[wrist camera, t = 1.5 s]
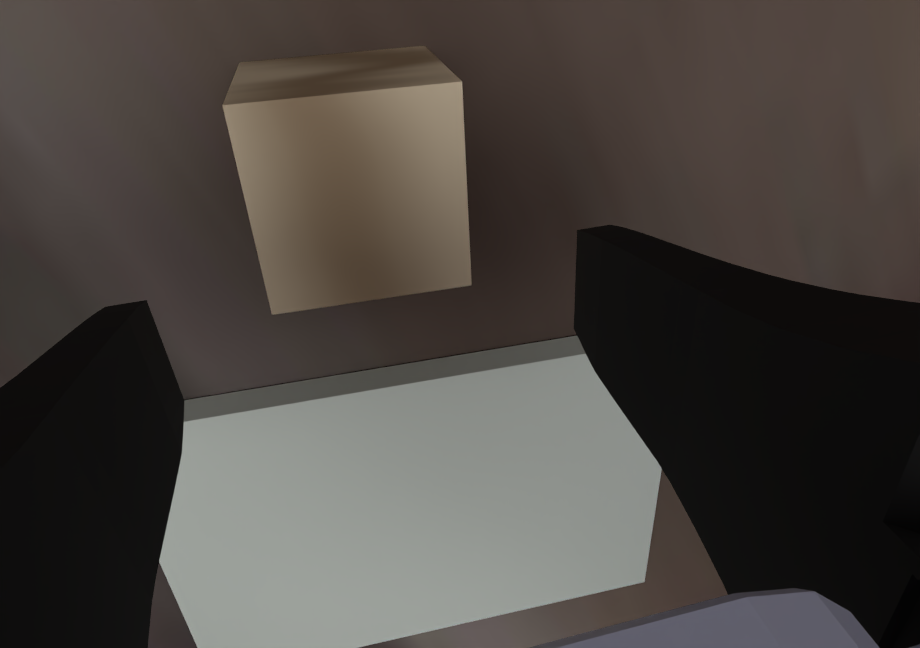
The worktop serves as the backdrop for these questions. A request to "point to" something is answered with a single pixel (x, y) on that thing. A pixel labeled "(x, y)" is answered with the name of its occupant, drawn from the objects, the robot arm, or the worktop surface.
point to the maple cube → (352, 175)
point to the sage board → (405, 499)
